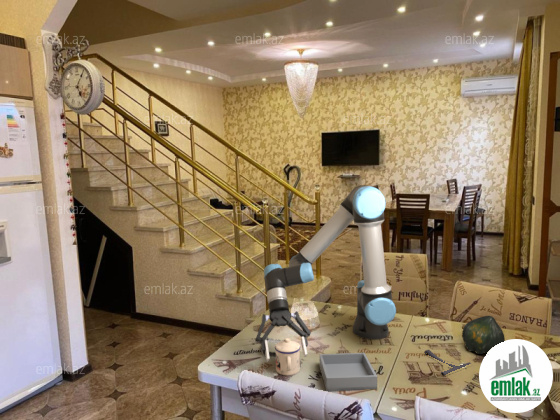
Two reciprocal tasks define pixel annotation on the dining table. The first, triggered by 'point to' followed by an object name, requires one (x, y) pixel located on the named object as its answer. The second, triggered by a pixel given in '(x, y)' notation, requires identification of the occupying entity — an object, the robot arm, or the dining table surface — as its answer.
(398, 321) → the dining table surface
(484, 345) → the squash
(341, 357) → the tray
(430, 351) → the dark grey rake
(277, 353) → the teacup with lid
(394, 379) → the dining table surface
